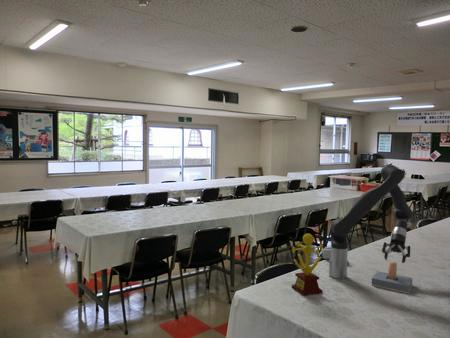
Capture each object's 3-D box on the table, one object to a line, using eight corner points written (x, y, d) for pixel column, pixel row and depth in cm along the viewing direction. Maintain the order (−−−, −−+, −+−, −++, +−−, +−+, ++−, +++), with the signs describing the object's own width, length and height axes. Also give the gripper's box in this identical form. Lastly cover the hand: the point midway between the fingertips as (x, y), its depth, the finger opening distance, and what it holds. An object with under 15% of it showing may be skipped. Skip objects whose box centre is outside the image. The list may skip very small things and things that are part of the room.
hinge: (348, 262, 232) (346, 249, 229) (345, 266, 229) (343, 252, 226) (326, 256, 244) (323, 243, 241) (322, 260, 241) (320, 247, 238)
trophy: (288, 293, 180) (289, 235, 178) (295, 283, 194) (296, 229, 192) (317, 298, 174) (318, 238, 172) (322, 287, 188) (323, 232, 187)
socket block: (371, 285, 192) (371, 278, 192) (377, 277, 204) (377, 271, 203) (408, 293, 182) (408, 285, 182) (412, 285, 193) (412, 277, 193)
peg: (387, 284, 192) (388, 262, 192) (388, 282, 196) (389, 261, 195) (395, 286, 190) (396, 264, 189) (396, 283, 193) (397, 262, 193)
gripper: (384, 231, 206) (379, 255, 197) (412, 234, 198) (408, 259, 189) (386, 238, 211) (381, 262, 202) (412, 242, 203) (409, 266, 194)
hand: (394, 260), depth 196 cm, fingers open, 8 cm apart
